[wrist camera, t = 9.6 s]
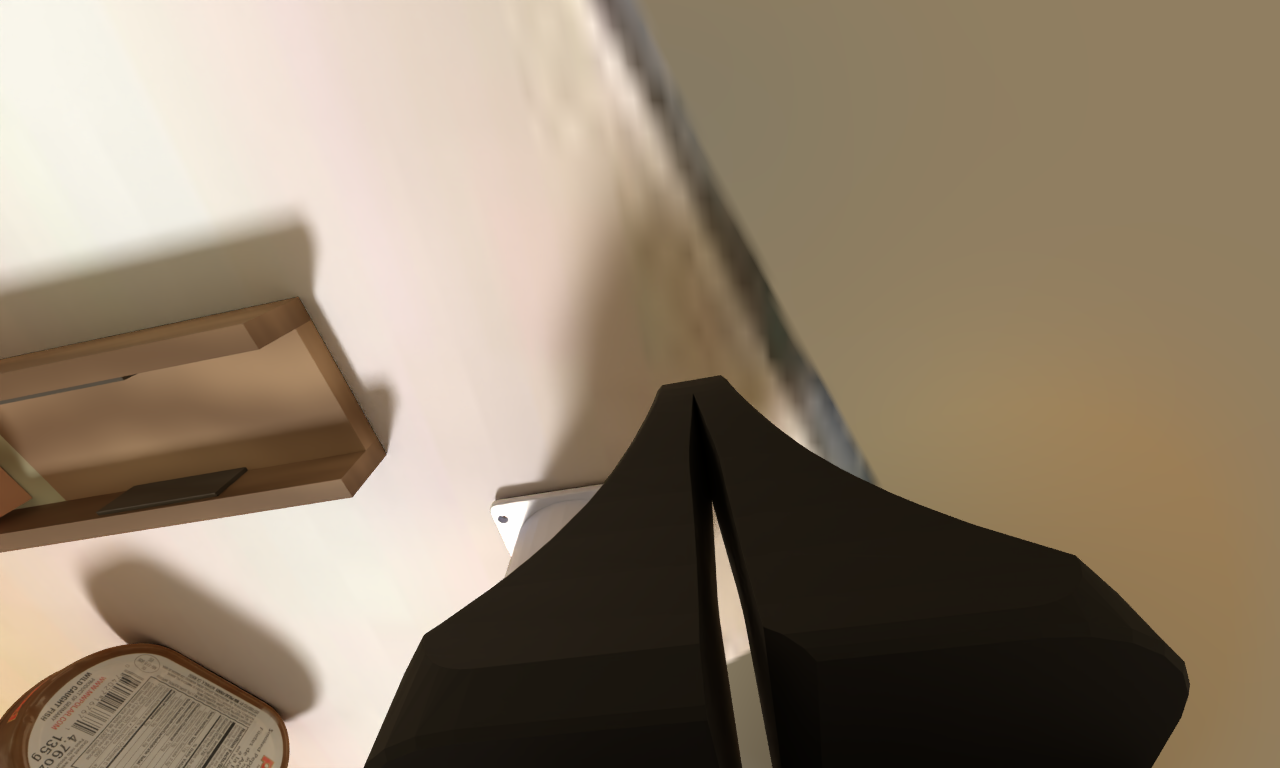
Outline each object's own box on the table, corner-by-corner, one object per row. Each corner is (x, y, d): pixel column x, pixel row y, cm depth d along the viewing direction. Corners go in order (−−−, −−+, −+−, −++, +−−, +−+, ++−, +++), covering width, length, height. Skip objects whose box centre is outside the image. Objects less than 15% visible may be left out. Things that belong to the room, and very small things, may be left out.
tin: (94, 629, 30) (-89, 794, 22) (121, 611, 29) (-60, 777, 22) (294, 737, 36) (201, 898, 28) (322, 725, 35) (233, 887, 27)
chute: (386, 454, 23) (352, 497, 20) (-11, 520, 25) (-88, 566, 23) (298, 297, 19) (242, 323, 17) (-156, 392, 22) (-267, 428, 19)
